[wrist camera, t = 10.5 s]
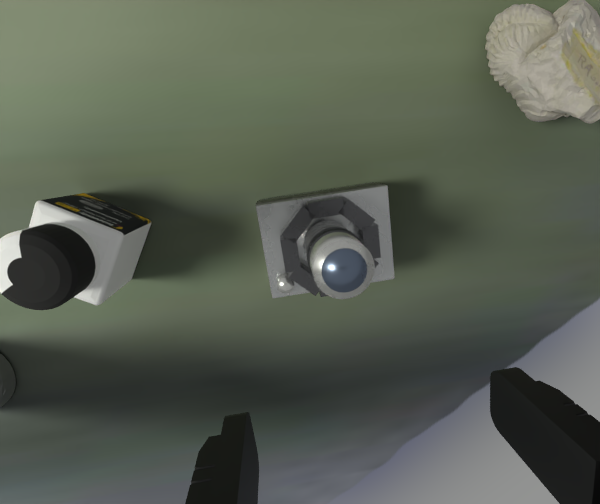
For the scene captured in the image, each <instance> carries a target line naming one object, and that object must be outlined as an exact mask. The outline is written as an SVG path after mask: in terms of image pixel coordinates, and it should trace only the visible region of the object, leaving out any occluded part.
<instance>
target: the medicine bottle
mask: <svg viewBox="0 0 600 504" xmlns="http://www.w3.org/2000/svg"><path fill="white" fill-rule="evenodd" d="M150 226H151V221H150V220H149V219H147V218H144V217H142V216H139V215H137V214H134V213H132V212H129V211H127V210H125V209H122V208H120V207H117V206H115V205H112V204H110V203H107V202H105V201H102V200H100V199H98V198H95V197H93V196H90V195H88V194H85V193H82V194H76V195H70V196H64V197H58V198H52V199H45V200H40V201H37V202H36V204H35V207H34V211H33V214H32V218H31V222H30V225H29V228H26V229H23V230H19V231H15V232H12V233H9V234H7V235H5V236H3V237H2V238H0V293H1V294H2V295H4V296H5V297H6V298H7V299H9V300H10V301H12V302H14V303H15V304H17V305H20V306H22V307H25V308H29V309H34V310H48V309H53V308H56V307H58V306H60V305H62V304H64V303H65V302H67V301H68V300H70V299H71V298H73V297H75V298H78V299H80V300H83V301H86V302H89V303H92V304H94V305H99V304H101V303H103V302H104V301H105V300H106V299H108V298H109V297H110V296H111V295H113V294H114V293H115V292H116V291H118V290H119V289H120V288H121V287H123V286H124V285H125V284H126V283H127V282H129V281H130V280H131V279H132V277H133V274H134V271H135V268H136V265H137V263H138V260H139V257H140V254H141V251H142V248H143V246H144V243H145V240H146V237H147V234H148V232H149V229H150Z"/></svg>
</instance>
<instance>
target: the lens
mask: <svg viewBox="0 0 600 504" xmlns="http://www.w3.org/2000/svg"><path fill="white" fill-rule="evenodd" d="M304 245H305V251H306V254H307V261H308V265H309V268H310V271H311V273H312V275H313V277H314V280H315V282H316V284H317V286H318V287H319V289H320V290H321V291H322V292H323V293H325V294H326V295H328V296H330V297H333V298H337V299H348V298H352V297H355V296H357V295H359V294H360V293H362V292H363V291H364V290H365V289H366V288H367V287H368V286H369V284H370V283H371V281H372V279H373V276H374V270H375V265H374V260H373V257H372V255H371V253H370V252H369V250H368V249H367V248H366V247H365V246H364V245H363V244H362V242H361V241H360V240H359V238H357V237H356V236H355V235H354V234H353V233H352V232H351V231H349V230H347V229H346V228H345V227H344V226H343V225H342V224H340V223H338V222H336V221H330V220H327V221H322V222H319V223H317V224H315V225H314V226H313V227H312V228H311V229H310V230H309V231H308V233H307V235H306V237H305V243H304Z"/></svg>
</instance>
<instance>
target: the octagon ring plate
mask: <svg viewBox="0 0 600 504" xmlns="http://www.w3.org/2000/svg"><path fill="white" fill-rule="evenodd" d="M256 209H257V215H258V221H259V226H260V232H261V237H262V243H263V248H264V254H265V259H266V265H267V270H268V276H269V281H270V287H271V292H272V298H277V297H284V296H290V295H296V294H302V293H308V292H311V293H312V294H314V295H315V296H316V294H317V293H318V292H319V293H320V296H321V297H323V296H328V295H326V294H325V293H323V292H322V291H321V290H320V289H319V287H318V286H317V284H316V282H315V280H314V277H313V275H312V273H311V271H310V268H309V265H308V261H307V254H306V251H305V245H304V243H305V237H306V235H307V233H308V231H309V230H310V229H311V228H312V227H313V226H314V225H315V224H317V223H319V222H322V221H327V220H330V221H336V222H338V223H340V224H342V225H343V226H344V227H345V228H346V229H347V230H349V231H351V232H352V233H353V234H354V235H355V236H356V237H357V238H359V240H360V241H361V242H362V244H363V245H364V246H365V247H366V248H367V249H368V250H369V252H370V253H371V255H372V257H373V260H374V265H375V270H374V276H373V279H372V281H371V282H377V281H383V280H389V279H395V277H394V264H393V251H392V238H391V225H390V212H389V199H388V186H387V185H384V184H381V183H373V182H372V183H365V184H359V185H352V186H346V187H339V188H333V189H326V190H320V191H313V192H307V193H300V194H294V195H287V196H281V197H274V198H268V199H261V200H259V201H257V203H256Z"/></svg>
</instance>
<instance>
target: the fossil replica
mask: <svg viewBox="0 0 600 504" xmlns="http://www.w3.org/2000/svg"><path fill="white" fill-rule="evenodd" d="M489 30H490V31H489V32H488V34H487V35H486V39H487V43H486V46H485V50H487V59H489V63H488V66H489V67H490V68H491V70H490V74H491V75H493V76H494V81H499V86H500V87H501V86H504V88H505V89H506V91H507V92H511V94H512V96H513V99H516V103H517V106H519V108H520V109H521V111H522V112H524V113H525V115H526V117H527V118H528V119H530V120H532V121H535V122H544V121H548V120H555V119H557V118H559V117H561V116H565V117H568V116H570V115H571V116H573V117H576V118H579V119H581V120H582V121H584V122H585V123H590V124H591V123H594V122H596V121H597V120H600V17H599V15H598V13H597V11H596V10H594V9H593V7H592V6H591V5H589V4H588V3H587V2H586V1H585V0H569V1H568V2H567V3H566V4H565V5H564V6H561V7H560V8H559V9H558V10H557V11H556V12H554V13H553V14H552V13H551V12H549V11H547V10H545V9H543V8H540V7H538V6H537V5H534V4H530V5H529V4H528V3H527V4H526V5H524V4H521V5H518V4H514V5H512V6H511V7H508V8H507V9H505V10H504V11H503V12H502V13H499V14H497V15H496V17H495V19H494V21H493V23H492V24H491V25H490V27H489Z"/></svg>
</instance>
